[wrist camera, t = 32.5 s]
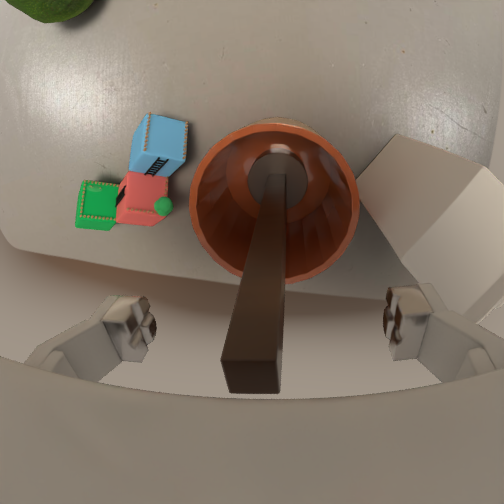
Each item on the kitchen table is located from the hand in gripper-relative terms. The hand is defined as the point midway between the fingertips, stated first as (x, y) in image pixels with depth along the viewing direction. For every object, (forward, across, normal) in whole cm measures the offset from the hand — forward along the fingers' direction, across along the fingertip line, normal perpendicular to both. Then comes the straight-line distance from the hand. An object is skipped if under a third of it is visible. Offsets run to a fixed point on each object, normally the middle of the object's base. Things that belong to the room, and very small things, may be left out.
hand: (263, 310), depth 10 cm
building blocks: (+21, +14, -2) cm, 25 cm away
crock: (+21, 0, 0) cm, 21 cm away
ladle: (+20, 0, 0) cm, 20 cm away
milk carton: (+21, -11, +2) cm, 24 cm away
